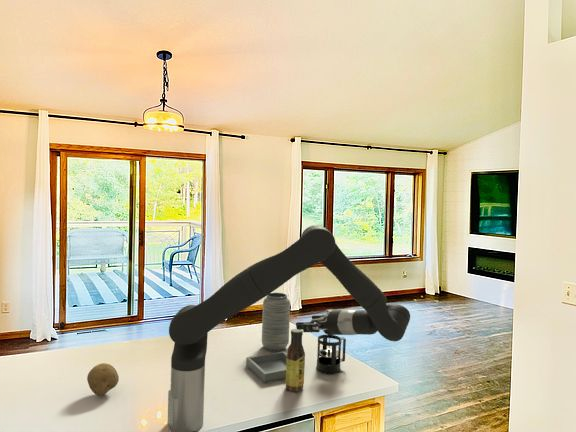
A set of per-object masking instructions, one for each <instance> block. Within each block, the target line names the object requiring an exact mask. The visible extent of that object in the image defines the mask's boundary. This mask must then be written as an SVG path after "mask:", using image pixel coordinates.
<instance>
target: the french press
mask: <svg viewBox="0 0 576 432" xmlns="http://www.w3.org/2000/svg"><path fill="white" fill-rule="evenodd" d="M332 310H335V309H332V308H327V309H325V312H326V313H330V312H331V311H332ZM322 332H323V333H324V334H321V335H319V336H317V353H316V354H317V355H316V357H317V358H316V366H315V370H316V371H317V372H318V373H320V374H323V375H330V376H331V375H336V374H337V375H339V374H340V373H341V371H342V369H341V363H342V362H345V360H346V346H347V345H346V342H347V339H346V338H345V337H343V336H342V337H340V336H339V335H333V334H331V333H330V331H329V330H328V329H327V330H322ZM321 339H322V340H321ZM328 339H329V340H328ZM331 339H334V340H338V341H334V342H331ZM321 345H322V349H321ZM337 346H338V350H337ZM330 347H331V348H330ZM341 350H342V352H341ZM341 353H342V357H341Z"/></svg>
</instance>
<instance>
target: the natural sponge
mask: <svg viewBox="0 0 576 432" xmlns="http://www.w3.org/2000/svg"><path fill="white" fill-rule="evenodd" d="M86 379H87V380H86V381H87V384H88V386H89V388H90V390H91V392H92V393H93V394H94V395H96V396H97V397H103V396H105V395H106V394H107V393H108V392H110V391H111V390H112V389H114V388H115V387H117V386H118V383H119V374H118V372H117V370H116V368H115V367H114V366H113V365H111V364H110V363H99V364H97V365H95V366H93V367H92V369H90V370H89V371H88V374H87V376H86Z"/></svg>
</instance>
